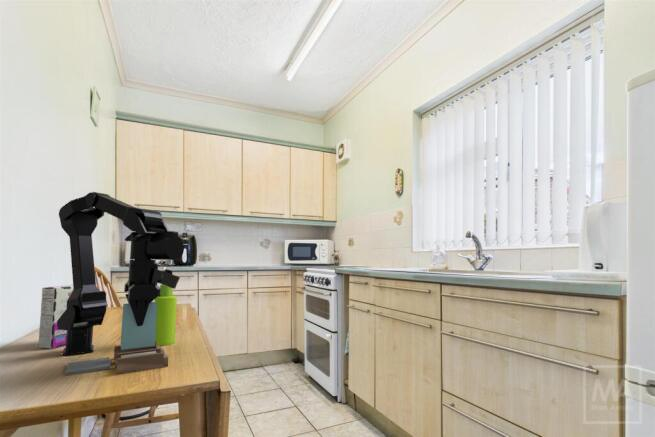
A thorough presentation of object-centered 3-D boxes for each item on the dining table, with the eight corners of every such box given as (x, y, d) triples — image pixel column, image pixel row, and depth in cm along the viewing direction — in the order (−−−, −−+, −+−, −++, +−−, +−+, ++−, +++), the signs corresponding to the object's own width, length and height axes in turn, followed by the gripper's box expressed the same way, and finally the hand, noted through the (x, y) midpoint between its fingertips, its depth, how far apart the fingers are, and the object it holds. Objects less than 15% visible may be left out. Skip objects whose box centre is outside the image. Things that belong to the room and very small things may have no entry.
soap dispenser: (172, 339, 105) (175, 272, 107) (176, 344, 99) (179, 273, 101) (150, 341, 102) (154, 272, 104) (153, 346, 96) (157, 273, 98)
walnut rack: (114, 358, 85) (114, 345, 85) (159, 352, 90) (159, 340, 90) (116, 374, 73) (117, 359, 74) (167, 366, 79) (168, 352, 79)
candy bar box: (73, 339, 105) (78, 283, 106) (87, 339, 104) (91, 284, 105) (35, 348, 94) (41, 286, 95) (51, 349, 93) (56, 287, 94)
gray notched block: (119, 369, 77) (120, 355, 77) (158, 363, 81) (159, 350, 82) (120, 372, 75) (121, 358, 75) (160, 366, 79) (160, 353, 80)
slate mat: (67, 365, 79) (68, 362, 79) (109, 359, 84) (109, 357, 84) (65, 375, 73) (65, 372, 73) (110, 368, 77) (110, 365, 77)
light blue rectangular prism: (120, 346, 83) (123, 303, 84) (152, 342, 87) (155, 301, 88) (121, 350, 80) (124, 305, 81) (154, 345, 84) (157, 303, 85)
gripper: (185, 260, 83) (182, 327, 81) (171, 259, 98) (168, 316, 96) (131, 260, 76) (127, 333, 75) (126, 259, 92) (122, 319, 90)
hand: (139, 324), depth 84 cm, fingers closed on light blue rectangular prism, 4 cm apart
